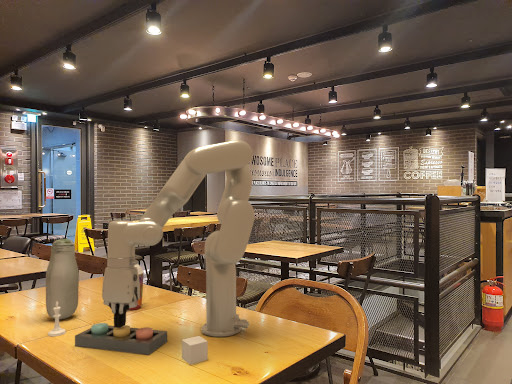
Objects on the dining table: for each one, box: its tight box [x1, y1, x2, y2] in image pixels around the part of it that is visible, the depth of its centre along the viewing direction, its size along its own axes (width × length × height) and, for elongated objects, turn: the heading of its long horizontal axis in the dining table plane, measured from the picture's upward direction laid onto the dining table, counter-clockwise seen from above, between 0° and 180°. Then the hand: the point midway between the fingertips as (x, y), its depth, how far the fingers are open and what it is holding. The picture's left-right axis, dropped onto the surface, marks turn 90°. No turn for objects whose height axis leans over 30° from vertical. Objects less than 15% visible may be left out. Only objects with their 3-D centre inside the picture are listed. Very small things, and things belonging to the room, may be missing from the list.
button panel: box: [74, 324, 168, 356], centre depth 110 cm, size 24×10×3 cm, turn 74°
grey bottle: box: [45, 238, 80, 321], centre depth 134 cm, size 10×10×28 cm
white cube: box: [181, 335, 209, 366], centre depth 99 cm, size 5×5×5 cm
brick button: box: [136, 326, 154, 341], centre depth 108 cm, size 5×5×3 cm
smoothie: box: [128, 263, 145, 311], centre depth 146 cm, size 8×8×20 cm
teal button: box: [90, 322, 109, 336], centre depth 112 cm, size 5×5×3 cm
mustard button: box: [113, 324, 131, 338], centre depth 110 cm, size 5×5×3 cm
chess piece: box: [47, 301, 66, 337], centre depth 119 cm, size 5×5×10 cm
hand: (119, 326), depth 110 cm, fingers closed
